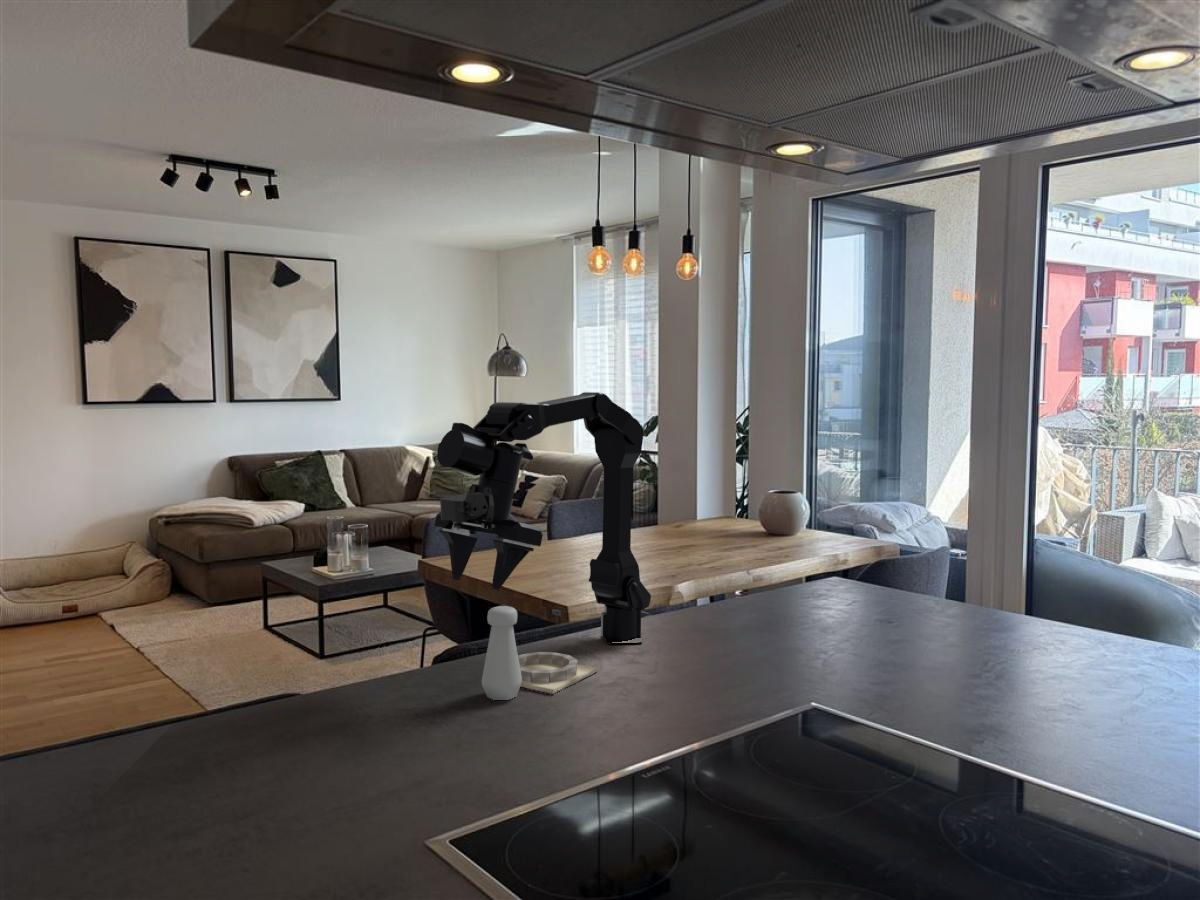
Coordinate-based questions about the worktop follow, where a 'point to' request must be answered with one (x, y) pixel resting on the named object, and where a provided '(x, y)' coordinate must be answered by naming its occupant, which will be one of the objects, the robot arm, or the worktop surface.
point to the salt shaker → (502, 656)
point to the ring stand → (550, 670)
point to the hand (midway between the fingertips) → (475, 584)
